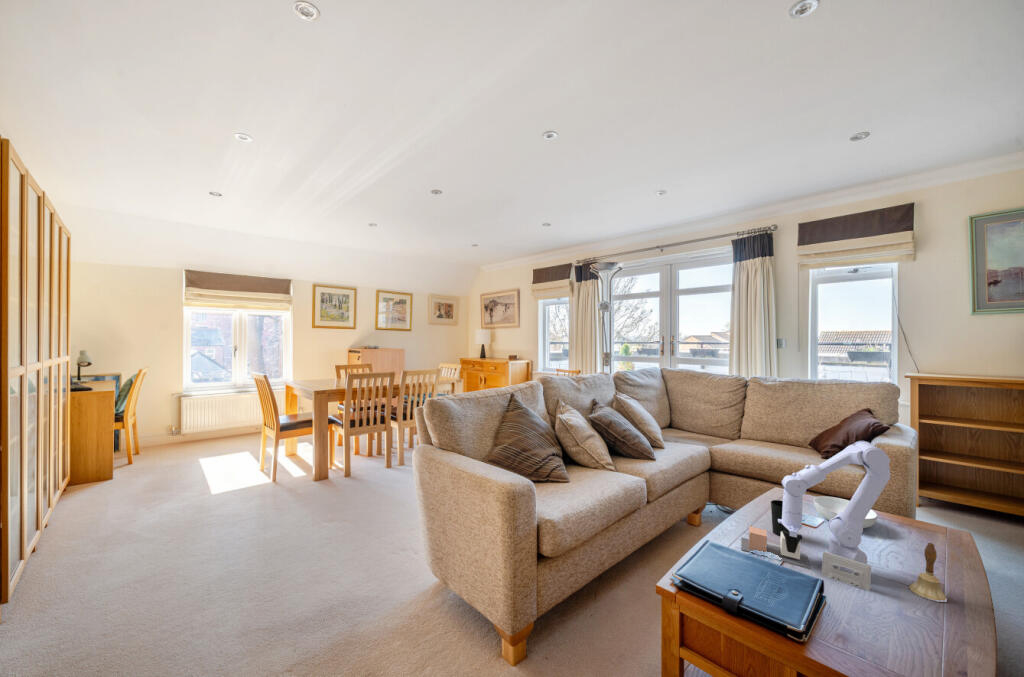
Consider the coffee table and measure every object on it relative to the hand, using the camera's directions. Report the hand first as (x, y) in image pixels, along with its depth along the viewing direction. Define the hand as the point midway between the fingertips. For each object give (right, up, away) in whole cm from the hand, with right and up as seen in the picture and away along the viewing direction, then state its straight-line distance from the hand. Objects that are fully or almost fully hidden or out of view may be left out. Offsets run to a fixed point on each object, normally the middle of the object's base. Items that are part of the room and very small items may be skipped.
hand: (790, 548), depth 141 cm
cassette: (+8, -4, -13) cm, 16 cm away
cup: (+8, -3, +17) cm, 19 cm away
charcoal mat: (-4, -3, +3) cm, 6 cm away
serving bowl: (+43, -4, +29) cm, 52 cm away
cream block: (0, -2, 0) cm, 2 cm away
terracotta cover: (-9, -2, +5) cm, 10 cm away
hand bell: (+30, -5, -18) cm, 35 cm away
